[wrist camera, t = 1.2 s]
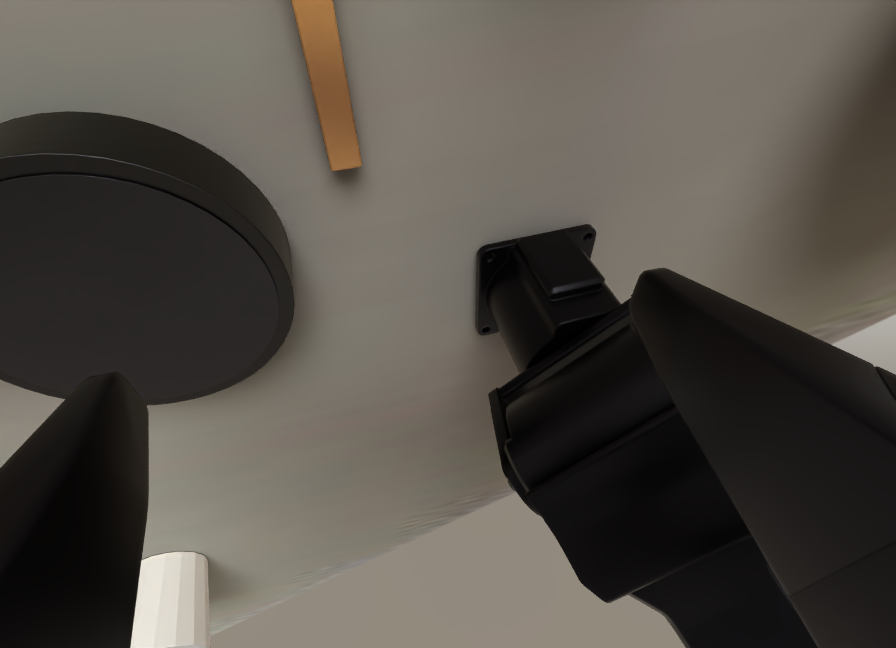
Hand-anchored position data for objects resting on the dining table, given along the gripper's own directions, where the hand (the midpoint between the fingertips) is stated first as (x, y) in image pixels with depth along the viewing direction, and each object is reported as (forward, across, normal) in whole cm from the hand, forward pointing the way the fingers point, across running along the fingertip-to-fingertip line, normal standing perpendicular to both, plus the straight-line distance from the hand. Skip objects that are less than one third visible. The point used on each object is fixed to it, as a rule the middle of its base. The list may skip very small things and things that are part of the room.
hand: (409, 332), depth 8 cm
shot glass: (+13, +20, +36) cm, 44 cm away
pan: (+13, +13, +6) cm, 19 cm away
